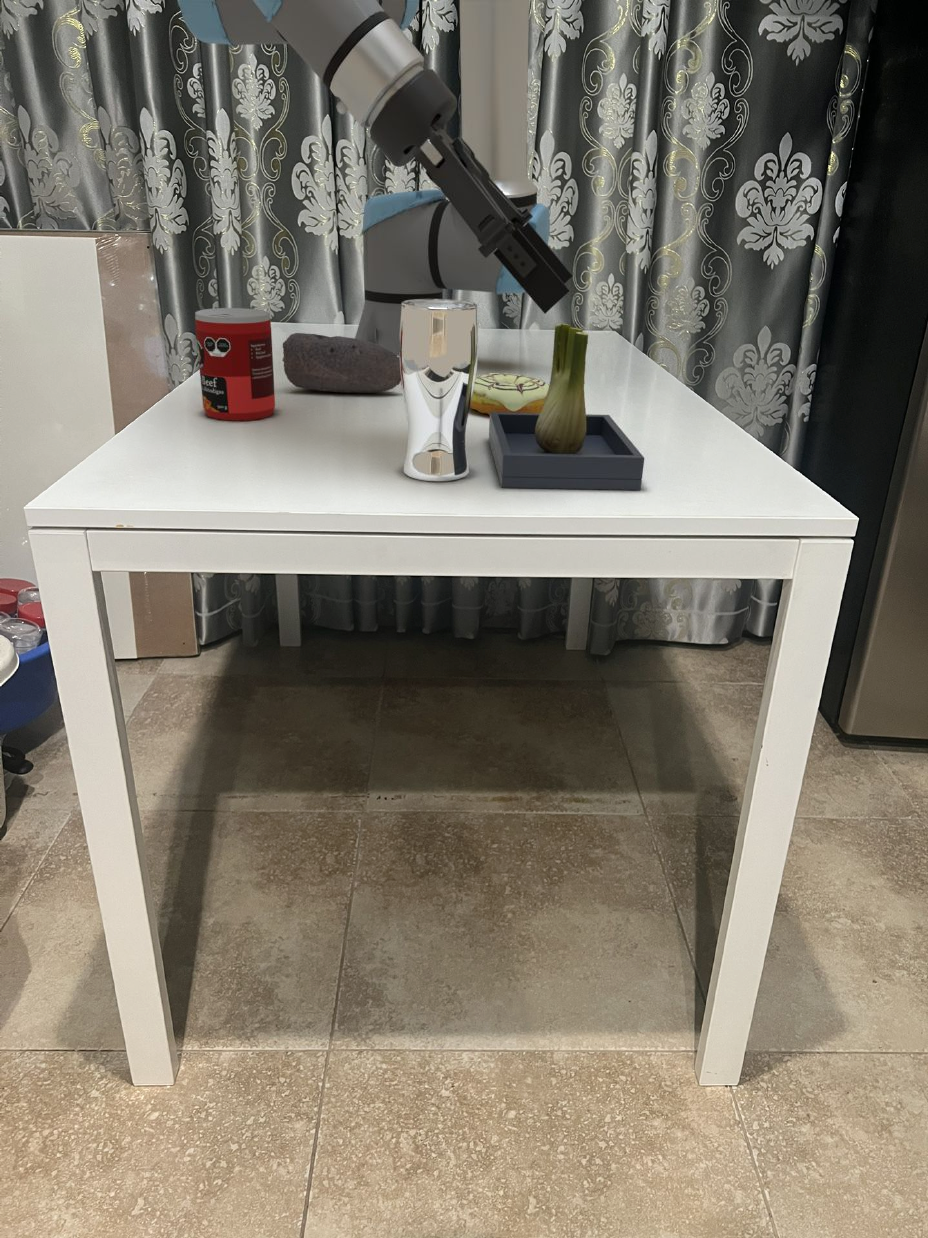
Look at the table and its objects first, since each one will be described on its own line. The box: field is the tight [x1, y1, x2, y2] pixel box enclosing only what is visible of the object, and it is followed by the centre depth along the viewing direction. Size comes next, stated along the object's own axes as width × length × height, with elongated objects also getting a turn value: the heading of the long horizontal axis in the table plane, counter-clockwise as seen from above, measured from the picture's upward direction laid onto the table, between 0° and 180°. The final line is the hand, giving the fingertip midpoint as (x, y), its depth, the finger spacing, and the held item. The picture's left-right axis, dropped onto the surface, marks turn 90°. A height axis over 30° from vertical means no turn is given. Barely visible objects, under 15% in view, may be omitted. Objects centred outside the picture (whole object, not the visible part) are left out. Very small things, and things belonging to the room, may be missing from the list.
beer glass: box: [399, 298, 479, 482], centre depth 81 cm, size 7×7×15 cm
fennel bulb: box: [535, 323, 589, 454], centre depth 86 cm, size 6×5×12 cm
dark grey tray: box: [488, 412, 645, 491], centre depth 88 cm, size 17×13×3 cm
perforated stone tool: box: [281, 332, 401, 394], centre depth 114 cm, size 15×5×7 cm, turn 84°
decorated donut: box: [470, 372, 550, 416], centre depth 108 cm, size 10×11×4 cm
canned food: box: [194, 307, 276, 422], centre depth 101 cm, size 8×8×11 cm
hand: (560, 293), depth 82 cm, fingers open, 13 cm apart
